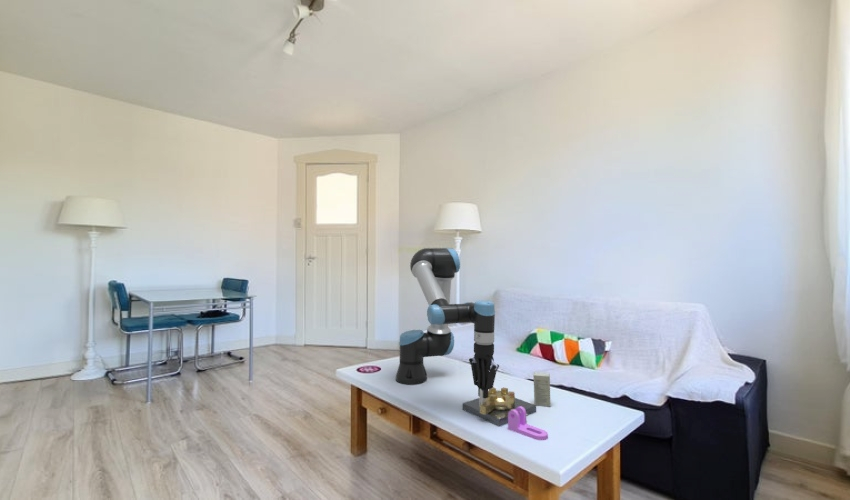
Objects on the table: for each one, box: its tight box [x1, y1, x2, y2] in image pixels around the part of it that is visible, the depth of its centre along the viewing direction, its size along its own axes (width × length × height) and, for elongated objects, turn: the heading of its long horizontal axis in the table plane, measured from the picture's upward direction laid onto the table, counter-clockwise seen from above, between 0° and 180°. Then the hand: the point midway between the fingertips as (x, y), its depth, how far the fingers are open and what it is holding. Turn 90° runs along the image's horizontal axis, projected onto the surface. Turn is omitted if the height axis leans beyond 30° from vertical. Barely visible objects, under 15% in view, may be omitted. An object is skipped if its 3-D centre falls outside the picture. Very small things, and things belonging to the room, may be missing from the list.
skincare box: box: [533, 371, 552, 407], centre depth 157 cm, size 6×4×12 cm
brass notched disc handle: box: [480, 386, 516, 415], centre depth 147 cm, size 19×12×4 cm, turn 142°
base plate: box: [462, 397, 537, 427], centre depth 149 cm, size 22×21×3 cm
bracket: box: [507, 406, 549, 441], centre depth 131 cm, size 13×6×7 cm, turn 44°
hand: (482, 406), depth 144 cm, fingers closed
